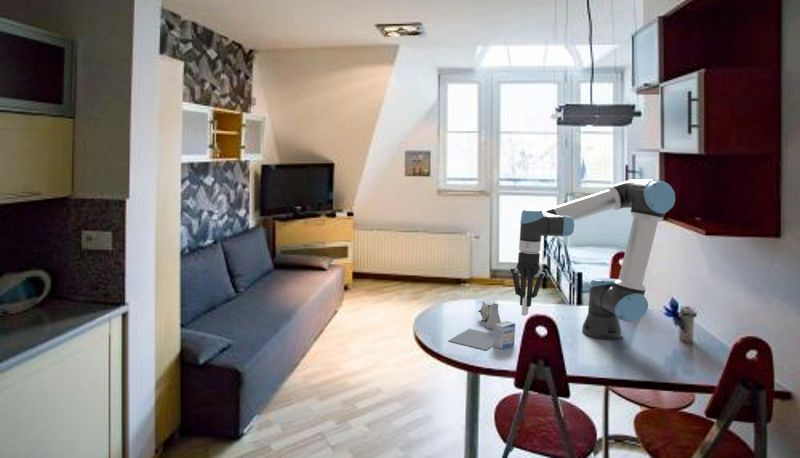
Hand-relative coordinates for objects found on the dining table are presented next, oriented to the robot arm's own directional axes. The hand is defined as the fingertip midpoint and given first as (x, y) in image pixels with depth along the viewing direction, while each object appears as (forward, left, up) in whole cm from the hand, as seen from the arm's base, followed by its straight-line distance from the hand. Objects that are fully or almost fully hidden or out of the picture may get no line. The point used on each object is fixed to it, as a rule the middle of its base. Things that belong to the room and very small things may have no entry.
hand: (524, 314), depth 201 cm
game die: (+26, -25, -14) cm, 39 cm away
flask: (+20, -18, -14) cm, 30 cm away
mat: (+19, 0, -14) cm, 23 cm away
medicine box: (+8, 0, -14) cm, 16 cm away
